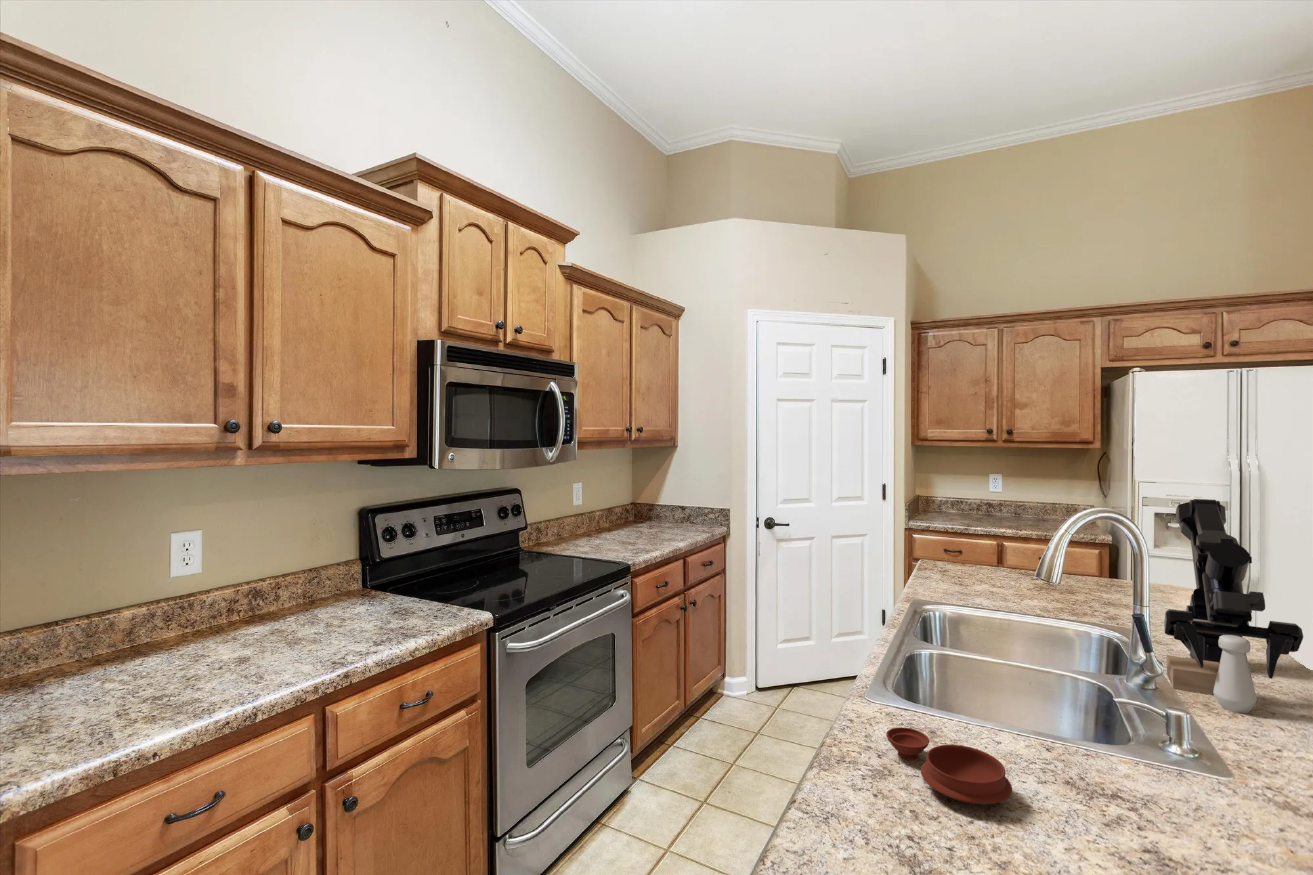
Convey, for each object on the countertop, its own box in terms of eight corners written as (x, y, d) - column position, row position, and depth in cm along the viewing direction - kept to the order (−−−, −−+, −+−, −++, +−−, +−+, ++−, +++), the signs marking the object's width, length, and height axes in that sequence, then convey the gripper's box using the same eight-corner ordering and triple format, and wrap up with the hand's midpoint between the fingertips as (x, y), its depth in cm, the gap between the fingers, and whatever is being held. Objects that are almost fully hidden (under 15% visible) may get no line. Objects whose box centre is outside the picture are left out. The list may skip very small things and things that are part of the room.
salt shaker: (1239, 701, 116) (1238, 631, 115) (1266, 715, 110) (1265, 642, 110) (1204, 700, 116) (1204, 631, 116) (1230, 714, 111) (1229, 642, 110)
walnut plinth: (1166, 674, 128) (1166, 655, 128) (1218, 682, 124) (1218, 662, 124) (1173, 688, 122) (1173, 668, 122) (1228, 697, 117) (1227, 676, 117)
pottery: (970, 827, 82) (969, 794, 82) (864, 754, 100) (864, 727, 100) (1031, 805, 86) (1031, 773, 86) (920, 738, 105) (919, 713, 105)
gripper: (1165, 567, 122) (1172, 640, 113) (1300, 579, 111) (1319, 660, 102) (1161, 598, 128) (1167, 669, 119) (1288, 612, 118) (1305, 691, 109)
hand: (1235, 672), depth 112 cm, fingers open, 9 cm apart
